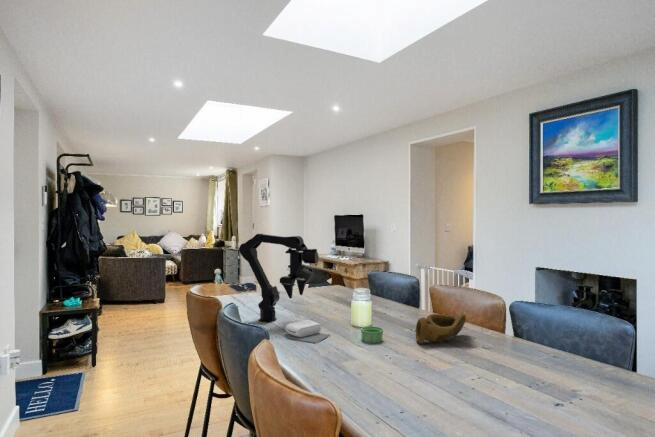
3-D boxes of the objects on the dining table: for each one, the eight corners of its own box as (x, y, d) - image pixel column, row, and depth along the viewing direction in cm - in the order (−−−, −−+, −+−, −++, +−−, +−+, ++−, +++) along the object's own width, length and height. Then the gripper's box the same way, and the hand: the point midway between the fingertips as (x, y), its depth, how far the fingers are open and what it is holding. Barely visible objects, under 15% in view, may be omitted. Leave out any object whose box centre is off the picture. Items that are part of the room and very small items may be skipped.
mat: (286, 338, 159) (286, 337, 159) (301, 331, 170) (301, 330, 170) (316, 343, 153) (316, 342, 153) (330, 335, 163) (330, 334, 163)
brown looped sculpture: (483, 329, 146) (424, 319, 147) (474, 358, 150) (416, 348, 151) (470, 304, 164) (417, 295, 164) (462, 330, 168) (410, 321, 168)
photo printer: (306, 328, 173) (282, 333, 165) (306, 318, 173) (282, 323, 165) (321, 333, 165) (297, 339, 157) (321, 323, 165) (297, 328, 157)
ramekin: (357, 341, 156) (357, 330, 156) (365, 335, 164) (365, 325, 164) (378, 344, 152) (378, 333, 152) (386, 338, 160) (386, 327, 160)
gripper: (300, 266, 172) (300, 302, 172) (320, 262, 189) (320, 294, 189) (279, 264, 177) (278, 299, 177) (300, 260, 194) (300, 292, 194)
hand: (295, 296), depth 184 cm, fingers open, 9 cm apart
